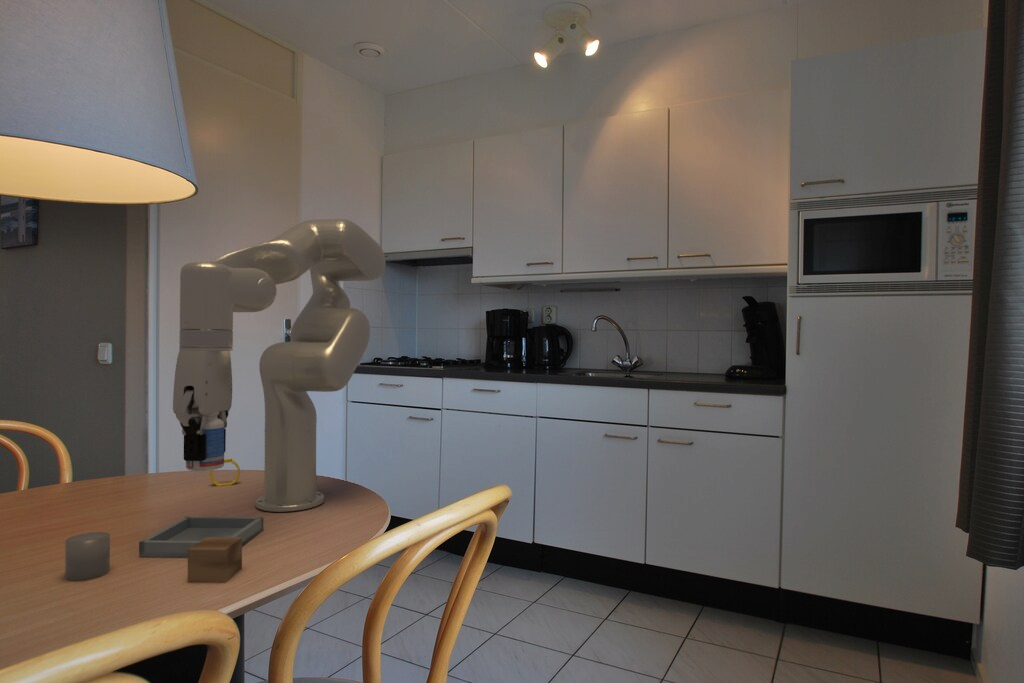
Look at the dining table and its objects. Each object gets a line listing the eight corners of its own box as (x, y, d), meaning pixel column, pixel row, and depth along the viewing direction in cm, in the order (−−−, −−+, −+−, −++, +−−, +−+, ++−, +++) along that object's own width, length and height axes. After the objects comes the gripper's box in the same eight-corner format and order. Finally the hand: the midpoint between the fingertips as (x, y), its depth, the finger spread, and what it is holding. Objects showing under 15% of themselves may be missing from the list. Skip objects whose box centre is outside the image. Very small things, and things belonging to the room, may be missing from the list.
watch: (238, 483, 137) (241, 457, 137) (238, 486, 134) (241, 459, 134) (209, 484, 134) (211, 457, 135) (208, 487, 132) (210, 459, 132)
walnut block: (206, 569, 86) (206, 537, 86) (241, 569, 86) (242, 537, 86) (187, 583, 81) (187, 549, 81) (225, 583, 81) (225, 549, 81)
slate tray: (186, 529, 103) (186, 516, 103) (263, 530, 103) (263, 517, 103) (138, 557, 90) (139, 542, 90) (227, 557, 90) (227, 543, 90)
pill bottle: (230, 464, 99) (230, 404, 99) (214, 471, 94) (215, 408, 94) (195, 464, 99) (196, 404, 99) (178, 471, 93) (179, 407, 93)
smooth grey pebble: (82, 567, 86) (82, 531, 86) (117, 567, 86) (118, 532, 86) (55, 581, 81) (56, 543, 81) (93, 581, 81) (93, 544, 81)
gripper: (209, 341, 105) (208, 447, 105) (150, 341, 88) (148, 467, 88) (253, 342, 105) (252, 447, 105) (202, 341, 88) (201, 468, 88)
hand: (205, 455), depth 96 cm, fingers closed on pill bottle, 5 cm apart
